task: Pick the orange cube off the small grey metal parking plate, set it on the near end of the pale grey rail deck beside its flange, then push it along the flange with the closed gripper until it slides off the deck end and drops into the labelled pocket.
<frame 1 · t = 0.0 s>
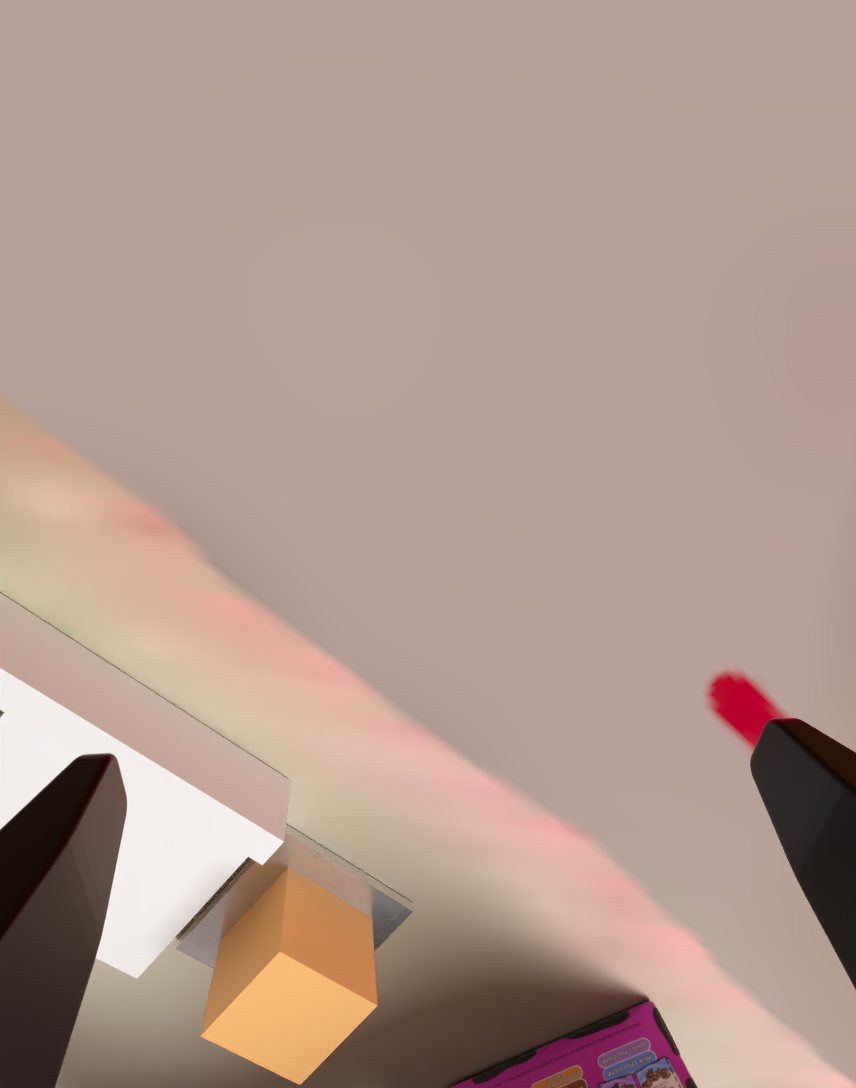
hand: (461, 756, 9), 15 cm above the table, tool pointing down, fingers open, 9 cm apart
candy bar box: (562, 1067, 33), on the table
rail: (10, 754, 24), on the table
orange cube: (296, 929, 27), resting on parking plate
parking plate: (297, 919, 28), on the table
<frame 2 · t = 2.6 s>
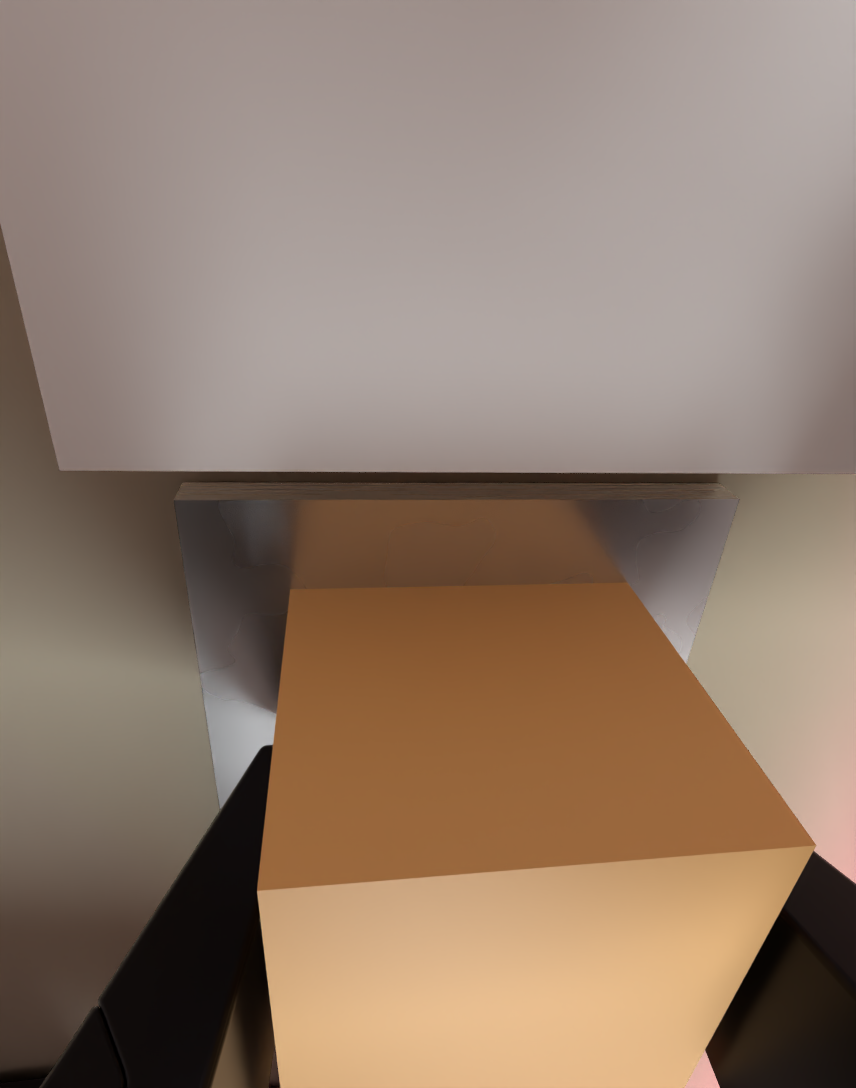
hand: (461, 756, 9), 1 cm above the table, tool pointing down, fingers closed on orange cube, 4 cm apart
orange cube: (452, 713, 10), resting on parking plate, touching gripper
parking plate: (447, 690, 10), on the table
when the fingers open (4 cm above the table, at t = 6.1 s): orange cube drops 1 cm, point 2 cm above the table.
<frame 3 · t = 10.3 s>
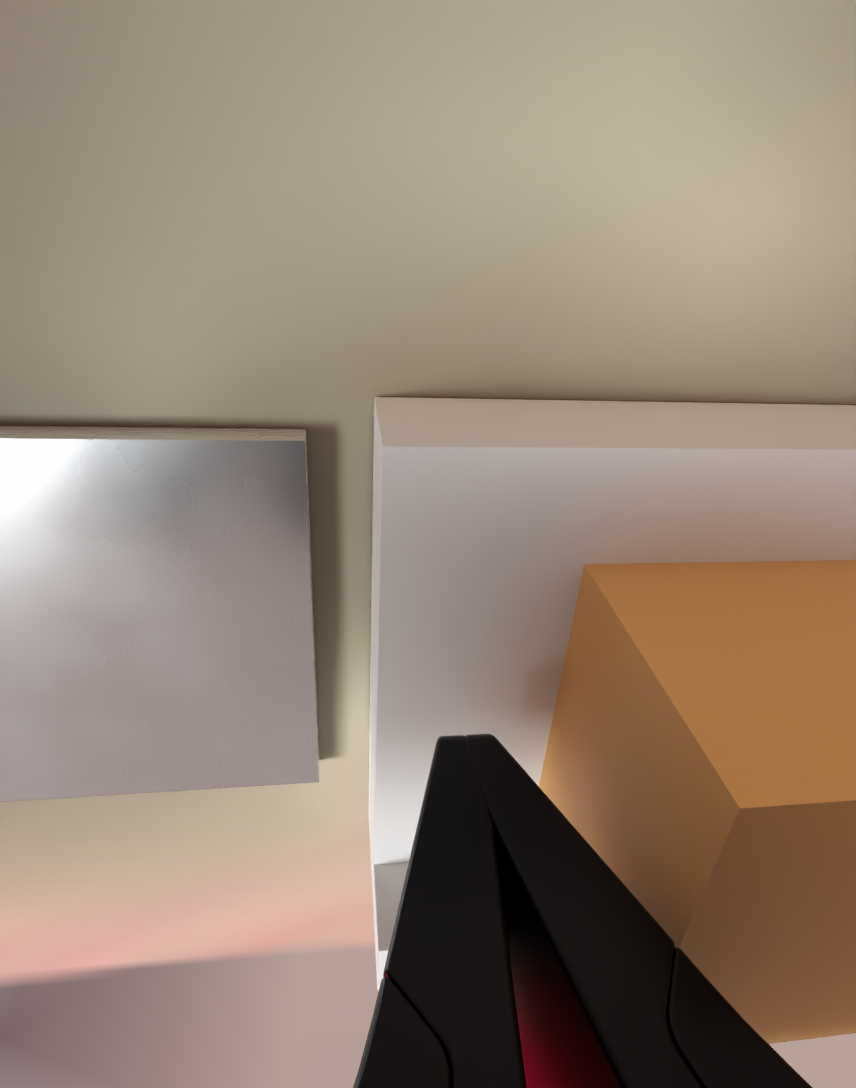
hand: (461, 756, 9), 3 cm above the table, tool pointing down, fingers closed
rail: (833, 605, 13), on the table
orange cube: (694, 682, 10), point 2 cm above the table, touching gripper
parking plate: (101, 626, 11), on the table
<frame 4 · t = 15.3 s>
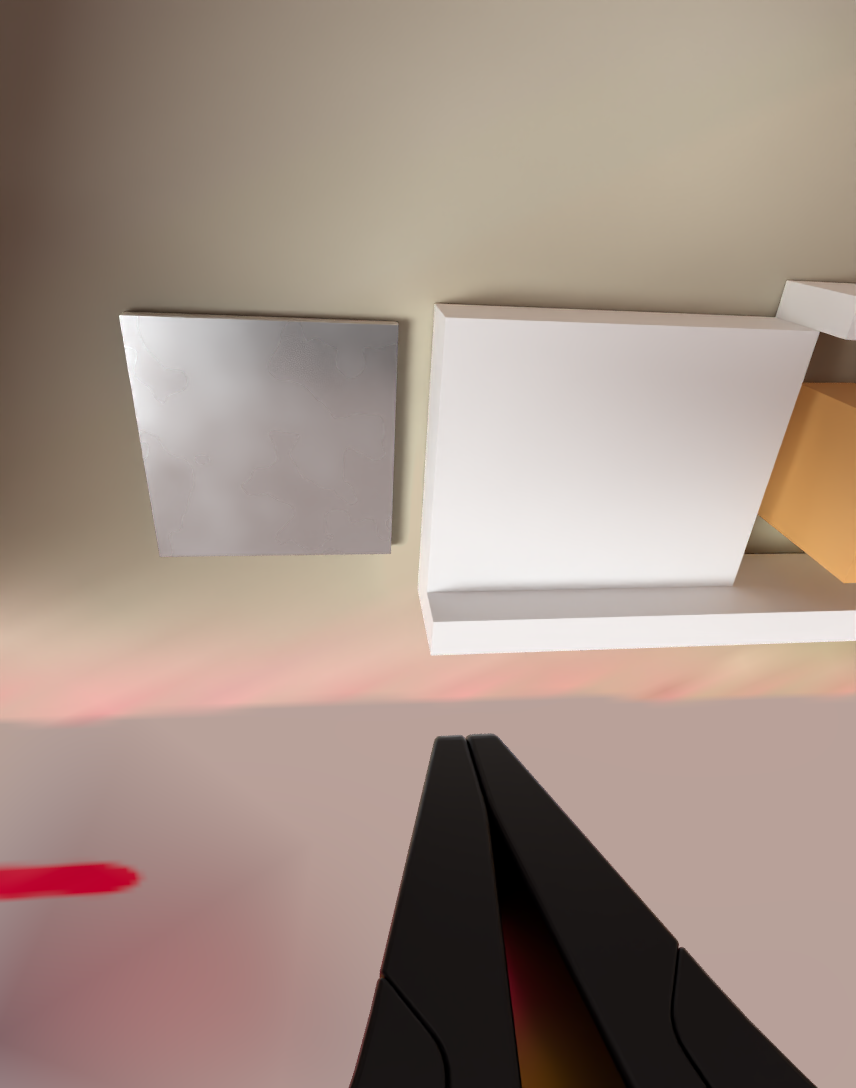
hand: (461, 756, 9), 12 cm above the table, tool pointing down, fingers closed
rail: (706, 446, 21), on the table
orange cube: (819, 478, 19), point 2 cm above the table, tilted 90°
parking plate: (272, 442, 19), on the table
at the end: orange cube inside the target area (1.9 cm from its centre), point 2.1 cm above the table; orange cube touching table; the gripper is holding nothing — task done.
